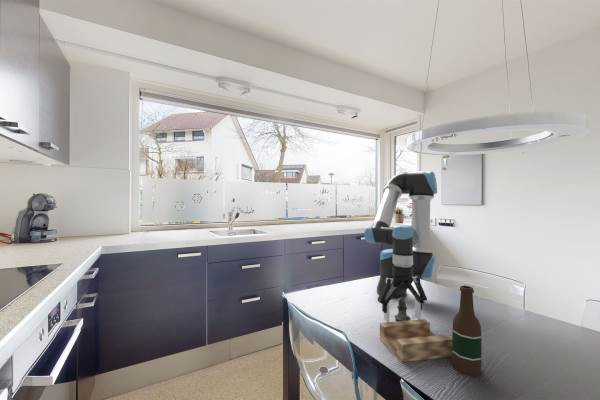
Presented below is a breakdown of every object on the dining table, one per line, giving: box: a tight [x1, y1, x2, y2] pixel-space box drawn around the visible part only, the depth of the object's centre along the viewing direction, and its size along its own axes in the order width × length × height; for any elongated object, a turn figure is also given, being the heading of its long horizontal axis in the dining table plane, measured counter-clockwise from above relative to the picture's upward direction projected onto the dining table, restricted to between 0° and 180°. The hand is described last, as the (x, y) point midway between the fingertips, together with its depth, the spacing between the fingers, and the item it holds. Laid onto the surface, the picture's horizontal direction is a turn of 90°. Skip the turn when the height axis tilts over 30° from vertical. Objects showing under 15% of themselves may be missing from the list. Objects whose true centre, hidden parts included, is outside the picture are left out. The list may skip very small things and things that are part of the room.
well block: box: [379, 318, 452, 363], centre depth 90 cm, size 18×14×6 cm
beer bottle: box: [451, 285, 483, 377], centre depth 78 cm, size 8×8×24 cm
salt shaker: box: [394, 296, 411, 322], centre depth 104 cm, size 6×6×12 cm
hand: (402, 319), depth 104 cm, fingers open, 12 cm apart
